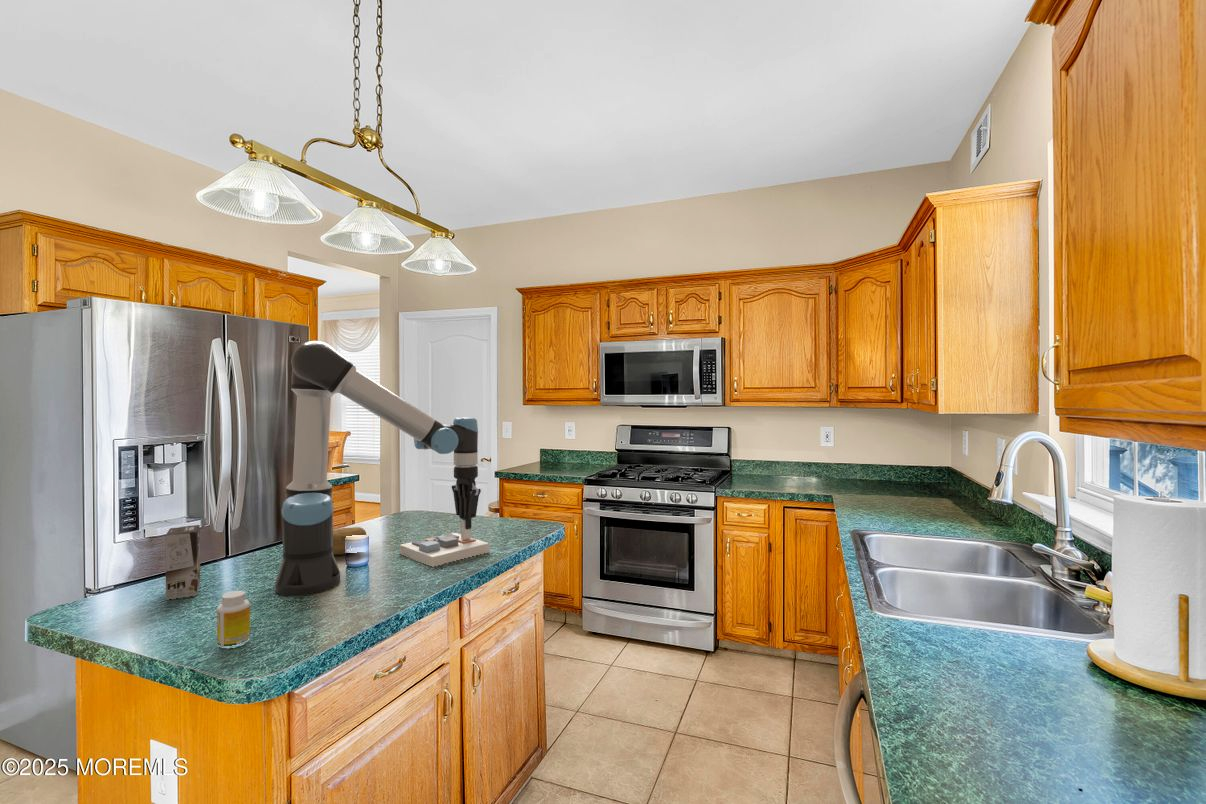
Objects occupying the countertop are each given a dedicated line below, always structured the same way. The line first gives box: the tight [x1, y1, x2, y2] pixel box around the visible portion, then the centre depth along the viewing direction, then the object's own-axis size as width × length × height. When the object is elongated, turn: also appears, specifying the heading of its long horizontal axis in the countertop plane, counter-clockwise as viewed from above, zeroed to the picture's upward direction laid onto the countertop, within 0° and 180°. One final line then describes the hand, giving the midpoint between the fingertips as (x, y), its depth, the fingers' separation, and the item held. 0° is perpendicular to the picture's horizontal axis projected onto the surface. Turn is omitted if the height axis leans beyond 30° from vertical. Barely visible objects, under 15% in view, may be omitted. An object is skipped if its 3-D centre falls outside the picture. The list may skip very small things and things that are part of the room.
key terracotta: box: [458, 537, 476, 544], centre depth 177 cm, size 4×4×3 cm
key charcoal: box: [438, 536, 458, 548], centre depth 172 cm, size 4×4×3 cm
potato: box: [333, 526, 367, 556], centre depth 172 cm, size 10×14×8 cm
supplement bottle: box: [216, 590, 251, 646], centre depth 111 cm, size 6×6×10 cm
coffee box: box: [164, 524, 201, 601], centre depth 139 cm, size 9×6×16 cm
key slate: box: [419, 540, 440, 553], centre depth 167 cm, size 4×4×3 cm
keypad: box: [399, 532, 490, 568], centre depth 173 cm, size 20×19×4 cm
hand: (466, 538), depth 177 cm, fingers closed
